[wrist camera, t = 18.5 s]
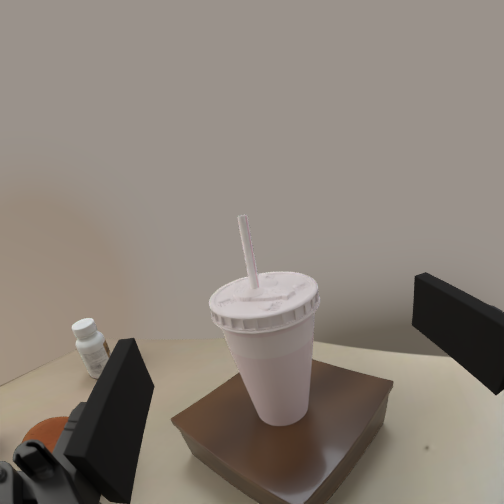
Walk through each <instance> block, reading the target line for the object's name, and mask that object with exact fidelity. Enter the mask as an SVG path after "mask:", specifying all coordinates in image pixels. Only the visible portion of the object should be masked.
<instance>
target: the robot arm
mask: <svg viewBox="0 0 504 504" xmlns="http://www.w3.org/2000/svg"><path fill="white" fill-rule="evenodd" d="M412 326H414V327H415V328H416V329H417V330H419V331H420V332H421V333H422V334H424V335H425V336H426V337H427V338H429V339H430V340H431V341H432V342H434V343H435V344H436V345H437V346H438V347H440V348H441V349H442V350H443V351H445V352H446V353H447V354H448V355H449V356H451V357H452V358H453V359H454V360H455V361H457V362H458V363H459V364H460V365H461V366H463V367H464V368H465V369H466V370H467V371H468V372H470V373H471V374H472V375H473V376H474V377H475V378H477V379H478V380H479V381H480V382H481V383H482V384H484V385H485V386H486V387H487V388H488V389H489V390H490V391H492V392H493V393H494V394H495V395H497V394H499V393H500V392H501V391H502V390H504V312H502V311H501V310H500V309H498V308H496V307H494V306H491V305H488V304H486V303H484V302H482V301H480V300H479V299H477V298H475V297H473V296H471V295H469V294H467V293H465V292H464V291H461V290H460V289H458V288H456V287H454V286H452V285H450V284H448V283H446V282H444V281H442V280H440V279H438V278H436V277H434V276H432V275H430V274H428V273H423V274H419V275H416V276H415V282H414V304H413V318H412ZM153 390H154V384H153V382H152V380H151V377H150V375H149V373H148V370H147V368H146V366H145V363H144V361H143V359H142V356H141V354H140V351H139V349H138V346H137V344H136V341H135V339H134V338H130V339H121V340H119V341H118V342H117V344H116V346H115V348H114V350H113V352H112V354H111V355H110V357H109V359H108V361H107V363H106V365H105V367H104V369H103V371H102V373H101V375H100V376H99V378H98V380H97V382H96V384H95V386H94V388H93V390H92V392H91V394H90V396H89V398H88V401H87V402H81V403H80V404H79V405H78V406H77V407H76V408H75V409H74V410H73V411H72V412H71V414H70V416H69V418H68V420H67V421H68V422H66V424H65V426H64V430H62V433H61V435H60V437H59V439H58V441H57V443H56V445H55V447H54V450H53V452H52V453H51V452H50V451H49V450H48V449H47V448H46V446H45V445H44V444H43V443H42V442H41V441H39V440H35V439H30V440H27V441H24V442H23V443H21V444H20V445H19V446H18V447H17V448H16V449H15V452H14V454H13V462H14V463H15V464H16V465H17V466H18V467H19V468H20V469H21V470H22V471H16V470H15V469H14V468H13V467H12V466H11V465H10V464H9V463H7V462H5V461H0V504H101V503H100V502H99V500H100V496H101V494H102V495H103V496H104V497H105V498H106V499H107V500H108V501H110V502H115V503H123V504H130V501H131V495H132V489H133V484H134V478H135V473H136V468H137V462H138V457H139V452H140V448H141V443H142V438H143V433H144V429H145V424H146V420H147V415H148V411H149V407H150V403H151V399H152V394H153Z"/></svg>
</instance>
